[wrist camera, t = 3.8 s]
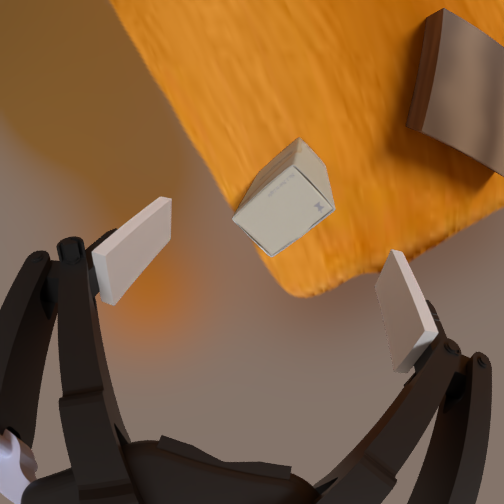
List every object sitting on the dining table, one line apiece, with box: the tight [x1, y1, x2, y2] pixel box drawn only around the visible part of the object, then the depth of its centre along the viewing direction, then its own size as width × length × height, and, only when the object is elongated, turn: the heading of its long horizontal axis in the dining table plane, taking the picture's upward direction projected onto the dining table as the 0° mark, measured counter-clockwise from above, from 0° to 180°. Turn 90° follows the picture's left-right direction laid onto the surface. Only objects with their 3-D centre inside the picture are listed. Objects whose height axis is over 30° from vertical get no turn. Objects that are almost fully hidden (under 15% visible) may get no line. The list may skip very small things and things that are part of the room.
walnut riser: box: [406, 8, 504, 177], centre depth 18 cm, size 14×14×5 cm
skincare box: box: [232, 137, 335, 257], centre depth 24 cm, size 6×4×12 cm
